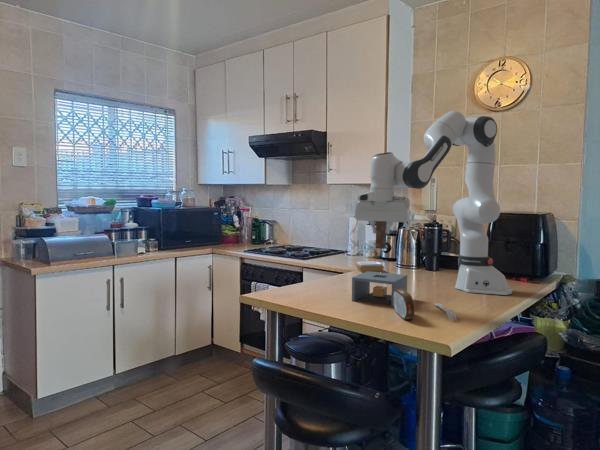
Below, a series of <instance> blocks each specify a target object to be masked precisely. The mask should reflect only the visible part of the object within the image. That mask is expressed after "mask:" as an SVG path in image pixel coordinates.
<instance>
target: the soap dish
mask: <svg viewBox="0 0 600 450" xmlns="http://www.w3.org/2000/svg"><path fill="white" fill-rule="evenodd" d="M355 266H356V268H357V270H358V272H360V273H361V272H362V273H365V272H367V271H370V272H381V273H383V270H384V268H385V266H383V263H382V262H380V261H377V260H375V261H369V260H368V261H357V262H356V264H355ZM362 273H361V274H362Z"/></svg>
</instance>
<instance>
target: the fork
mask: <svg viewBox="0 0 600 450" xmlns="http://www.w3.org/2000/svg"><path fill="white" fill-rule="evenodd" d="M433 305H435V306H437V307H438V308H440V309H441V310H442V311H444V312H445V313H446V314H447V316H448V318H449V320H450V321H453V322H455V321H456V322H458V321H457V317H456V316H457V315H456V313H455V311H454V309H446V308H444V306H443V304H441V303H437V302H436V303H435V302H434V303H433Z"/></svg>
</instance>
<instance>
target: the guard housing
mask: <svg viewBox="0 0 600 450" xmlns="http://www.w3.org/2000/svg"><path fill="white" fill-rule="evenodd" d="M351 279H352V280H351V302H356V301H358V300H361V299H362V301H364V302H370V303H375V304H382V305H383V304H385V305H389V304H390V307H391V308H394V304H393V303H394V300H393V292H394V290H395V289H404V290H405V291H407V292H408V274H401V273H400V274H398V273H392V272H391V273H388V272H381V273H380V272H370V271H367V272H365V273H360V274H357V275H355V276H352V277H351ZM370 283H373V284H374V283H375V284H376V283H377V284H385V285H391V294H387V295H386V296H384V297H380V296H373V292H370V291H371V290H370V288H371V286H370V285H371V284H370Z"/></svg>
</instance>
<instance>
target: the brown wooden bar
mask: <svg viewBox="0 0 600 450" xmlns="http://www.w3.org/2000/svg"><path fill="white" fill-rule="evenodd" d="M375 227H376V233H375V249H382V250H384V249H386V248H387V234H384V232H385V231H384V229H387V228H388V224H387V222H384V221H376V224H375Z"/></svg>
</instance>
